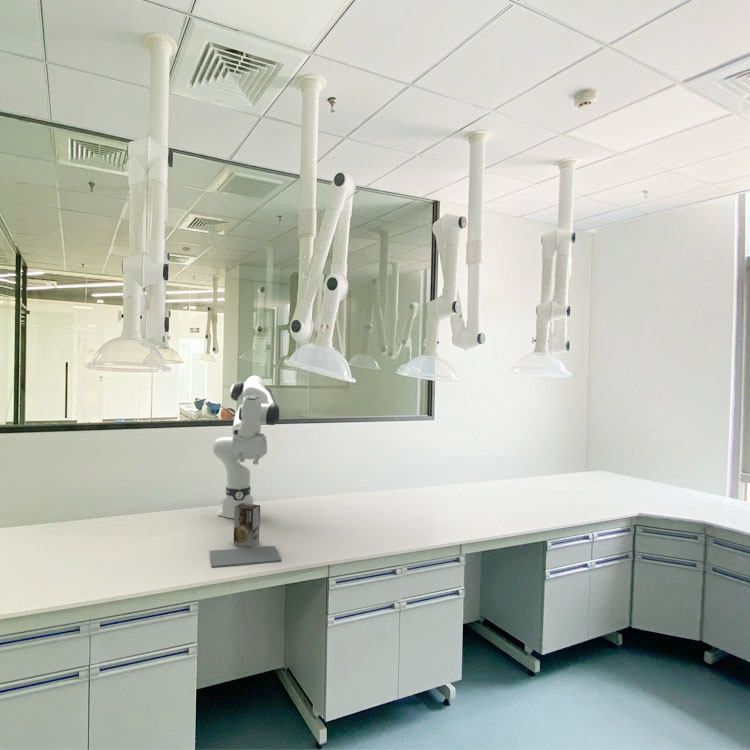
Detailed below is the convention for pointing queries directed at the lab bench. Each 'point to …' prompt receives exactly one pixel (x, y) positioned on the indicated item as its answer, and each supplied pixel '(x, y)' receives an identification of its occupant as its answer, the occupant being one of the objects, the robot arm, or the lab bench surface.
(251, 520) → the coffee box
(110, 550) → the lab bench surface
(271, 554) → the mat
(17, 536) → the lab bench surface
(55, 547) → the lab bench surface
